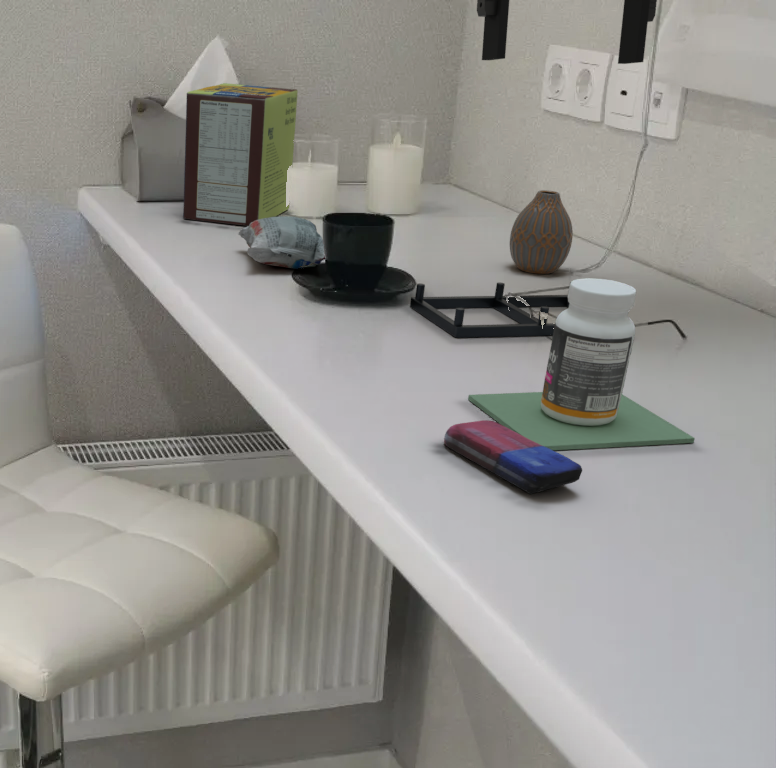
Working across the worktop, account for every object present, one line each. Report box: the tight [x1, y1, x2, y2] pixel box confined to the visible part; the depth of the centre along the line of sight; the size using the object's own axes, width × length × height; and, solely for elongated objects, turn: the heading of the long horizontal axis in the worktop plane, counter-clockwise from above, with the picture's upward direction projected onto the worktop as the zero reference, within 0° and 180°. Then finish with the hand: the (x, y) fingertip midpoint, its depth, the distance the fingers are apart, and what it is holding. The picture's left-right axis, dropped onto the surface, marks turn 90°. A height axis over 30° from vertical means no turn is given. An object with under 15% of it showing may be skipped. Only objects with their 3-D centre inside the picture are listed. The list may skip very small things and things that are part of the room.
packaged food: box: [237, 215, 326, 270], centre depth 130 cm, size 9×12×5 cm
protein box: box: [182, 82, 298, 227], centre depth 152 cm, size 10×15×16 cm
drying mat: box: [467, 391, 696, 451], centre depth 89 cm, size 13×11×1 cm
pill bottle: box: [541, 277, 637, 426], centre depth 86 cm, size 6×6×10 cm
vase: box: [509, 189, 574, 275], centre depth 133 cm, size 7×7×9 cm
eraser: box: [443, 420, 583, 495], centre depth 79 cm, size 11×4×2 cm, turn 26°
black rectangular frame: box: [409, 281, 572, 339], centre depth 114 cm, size 18×11×2 cm, turn 105°
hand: (563, 61), depth 102 cm, fingers open, 13 cm apart
